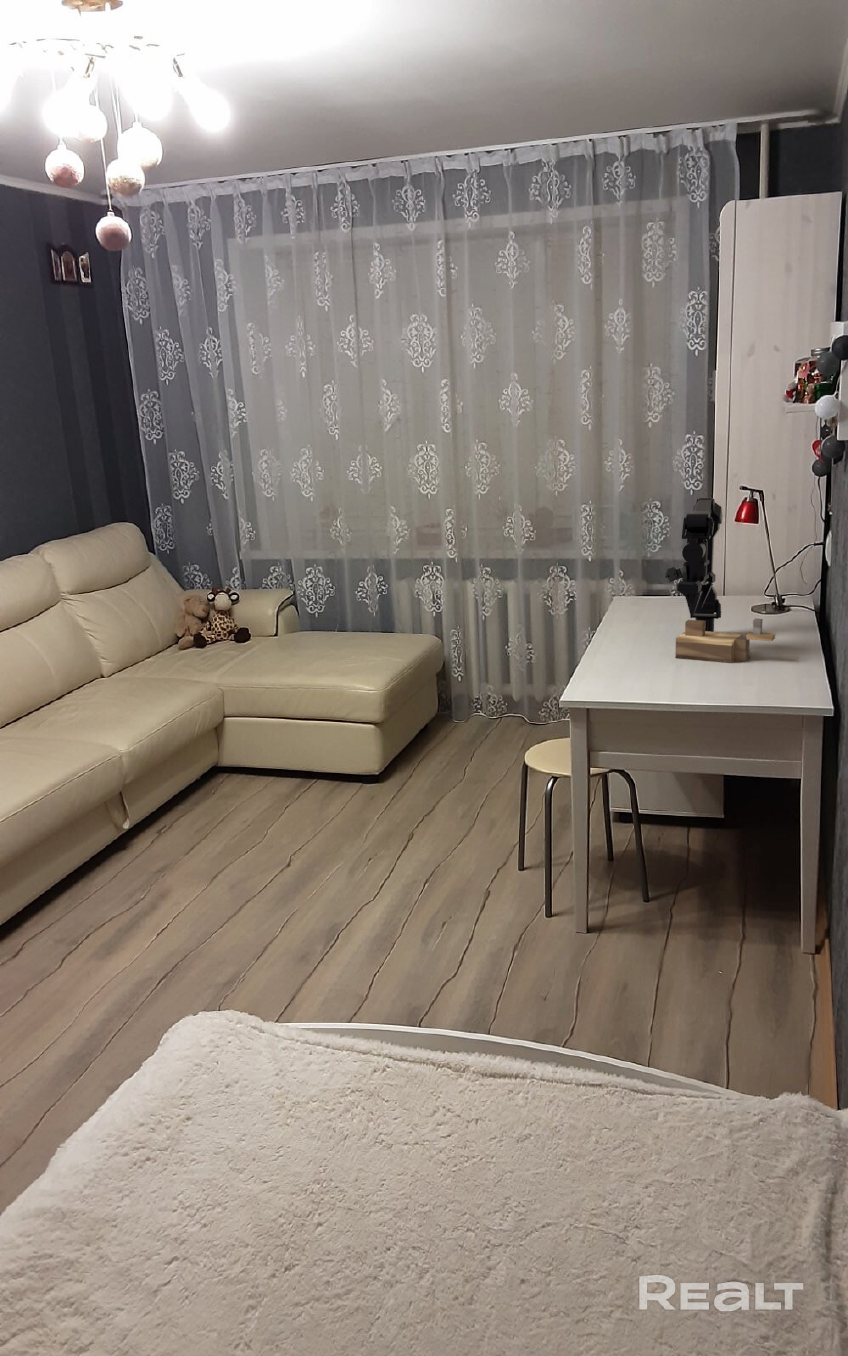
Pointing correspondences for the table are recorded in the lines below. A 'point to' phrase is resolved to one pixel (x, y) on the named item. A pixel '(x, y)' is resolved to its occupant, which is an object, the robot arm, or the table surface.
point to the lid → (705, 634)
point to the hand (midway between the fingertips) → (695, 611)
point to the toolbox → (714, 651)
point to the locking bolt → (759, 632)
